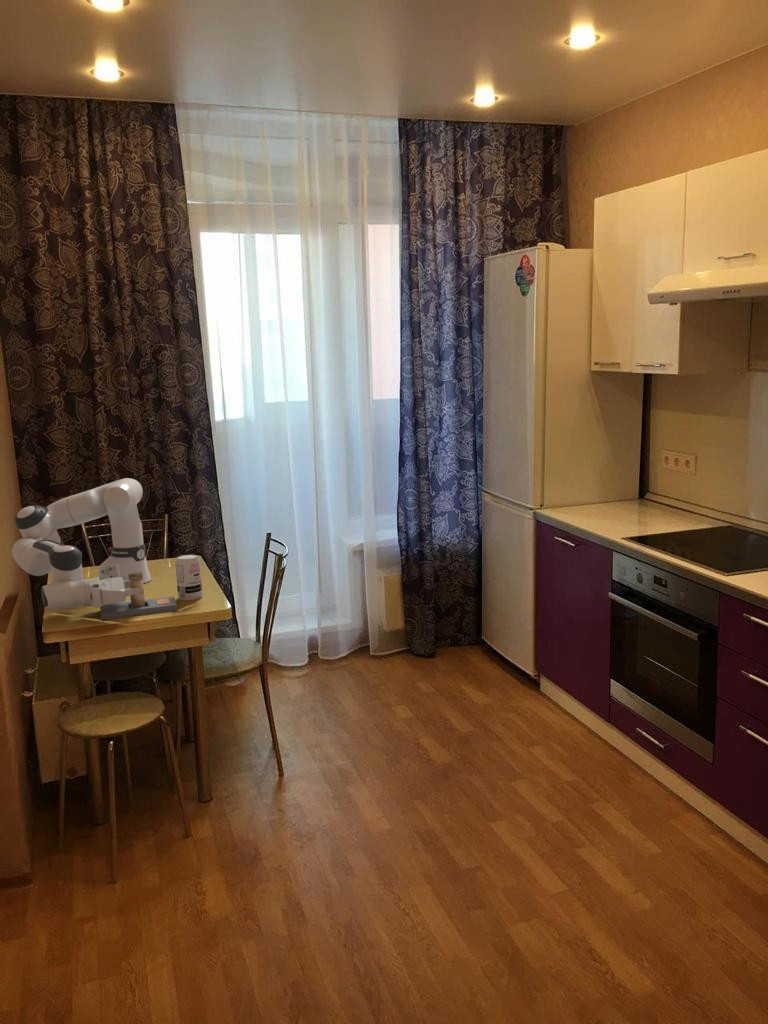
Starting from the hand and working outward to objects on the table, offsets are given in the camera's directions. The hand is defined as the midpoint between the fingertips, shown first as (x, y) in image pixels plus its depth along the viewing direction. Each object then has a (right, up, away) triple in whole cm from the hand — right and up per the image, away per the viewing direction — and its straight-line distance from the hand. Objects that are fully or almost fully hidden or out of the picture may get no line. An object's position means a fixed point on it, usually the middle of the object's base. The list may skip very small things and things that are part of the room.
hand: (138, 586), depth 279 cm
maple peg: (0, -8, +1) cm, 9 cm away
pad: (-4, -7, +12) cm, 14 cm away
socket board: (0, -8, +1) cm, 9 cm away
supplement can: (+14, -6, +15) cm, 21 cm away
